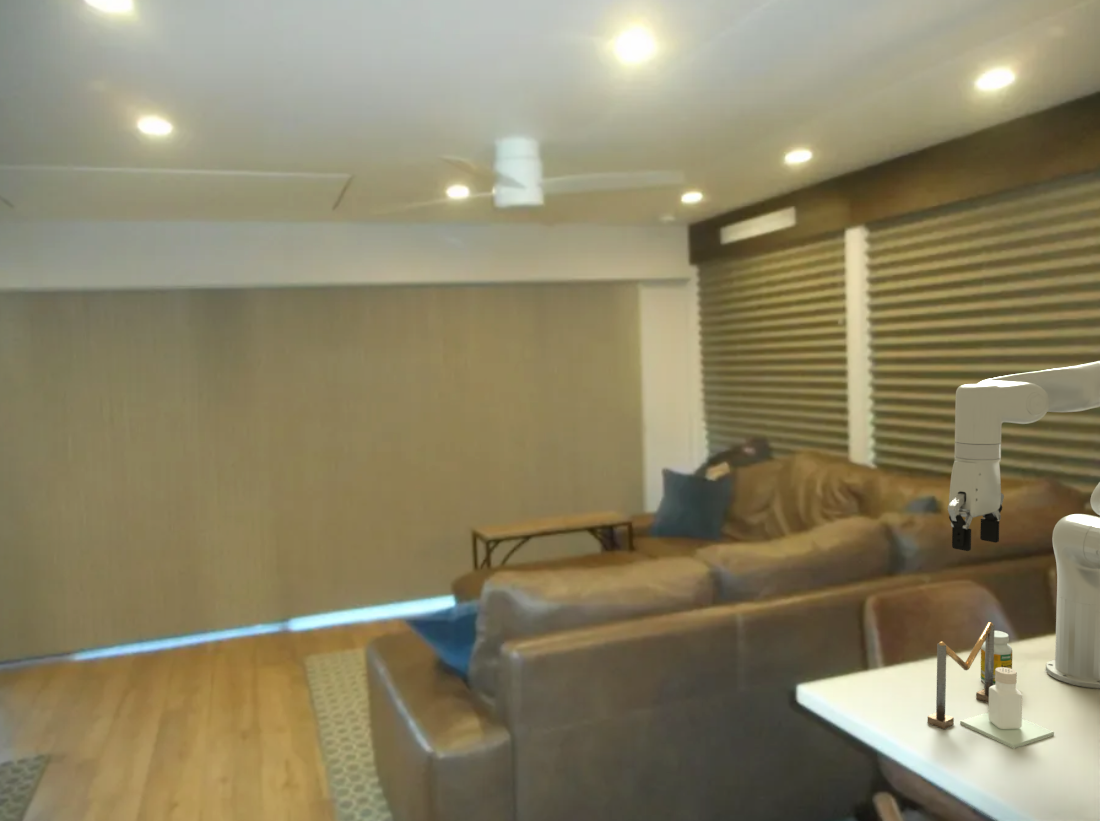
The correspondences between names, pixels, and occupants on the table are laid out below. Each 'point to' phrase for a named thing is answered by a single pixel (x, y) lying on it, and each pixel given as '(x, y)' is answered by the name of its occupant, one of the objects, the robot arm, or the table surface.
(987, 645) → the wire hurdle
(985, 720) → the mat
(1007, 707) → the salt shaker
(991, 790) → the table surface
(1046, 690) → the table surface
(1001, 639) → the supplement bottle
